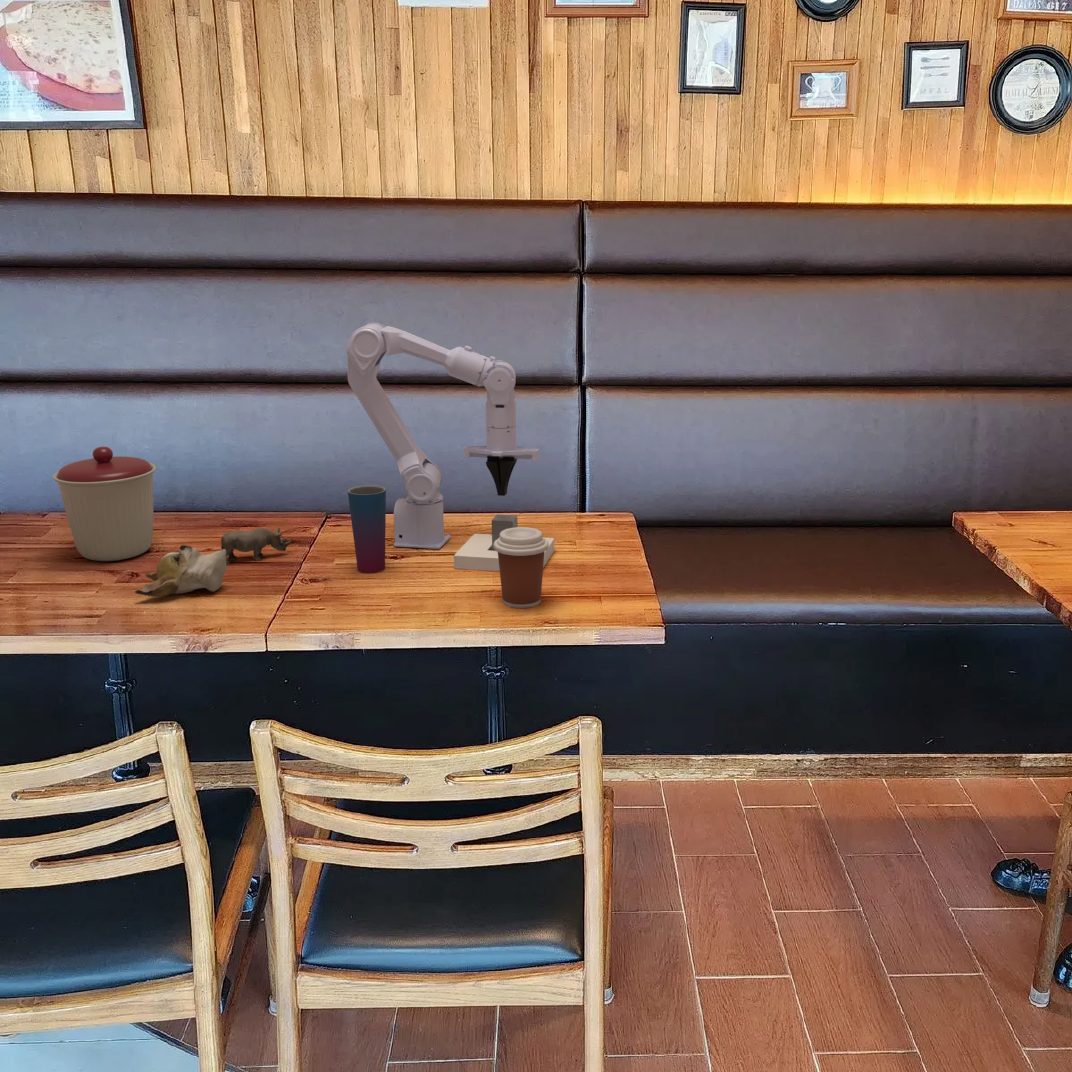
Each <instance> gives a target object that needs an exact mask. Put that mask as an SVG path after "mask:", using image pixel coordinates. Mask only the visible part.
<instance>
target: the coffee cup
mask: <svg viewBox="0 0 1072 1072" xmlns="http://www.w3.org/2000/svg"><path fill="white" fill-rule="evenodd" d="M544 538H545V537H544V536H543V532H542V531H541V530H540V529H537V528H534V527H527V526H518V527H515V528H509V529H505V530H503V531H501V533H500V537H499V538H498V539H497V540H495V542H494V544H493V548H494V549H495V551H497V552H498V560H499V570H500V571H499V578H500V585H501V586H500V588H501V597H502V603H503V604H504V605H505V607H508V608H513V609H529V608H534V607H537V606H539V604H540V605H541V602H542V587H543V576H544V575H543V573H544V568H543V564H544V551H546V550H548V547H549V542H548V541H547V540H546V539H544Z"/></svg>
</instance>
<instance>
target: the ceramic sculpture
mask: <svg viewBox="0 0 1072 1072" xmlns="http://www.w3.org/2000/svg"><path fill="white" fill-rule="evenodd" d="M156 566H157V567H156V572H153V573H150V572H146V573H145V574H144V576H146V577H147V578H149V579H150V580H152V581H153V582H150V583H148V584H147V585H145V586H144V587H143V588H141V589H137V590H135V591H134V593H135V594H138V595H141V596H147V597H155V598H160V597H161V598H162V597H165V596H169V595H170V594H175V595H178V594H179V595H180V594H181V595H182V594H186V593H188V594H189V593H191V592H193V591H195V590H198V589H207V590H208V591H210V592H216V591H218V590H219V589H220V588H221V587H222V585H223V580H224V576H225V573H226V571H227V564H226V550H225V549H223V550H222V549H220V550H217V551H214V552H212V553H208V554H207V553H206V554H205V553H204V554H203V553H200V552H199V551H198V549H197V548H196V547H192V546H191V545H185V544H184V545H183V544H182V545H180V546H179V550H177V551H173V552H168V553H167V554H165V555H164V556H162V557H161V559H160V560H159V561H158V563H157V565H156Z"/></svg>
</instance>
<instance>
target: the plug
mask: <svg viewBox="0 0 1072 1072" xmlns="http://www.w3.org/2000/svg"><path fill="white" fill-rule="evenodd" d="M515 527H519V526H518V515H515V514H495V516H494V517H493V518H492V519H491V535H492V551H495V549H494V548H493V544H494V542H495V540H497V539H498V538H499V537H500V533H501V531H503V530H505V529H509V528H515Z"/></svg>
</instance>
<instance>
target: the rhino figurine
mask: <svg viewBox="0 0 1072 1072" xmlns="http://www.w3.org/2000/svg"><path fill="white" fill-rule="evenodd" d="M280 532H281V528H277V529H276V531H273V530H271V529H268V528H265V527H258V528H255V529H253V530H249V531H244V530H234V531H227V532H226V533H224V534H223V535H222V537H221V538H220V543H221V546H220V548H221V550H223V549H225V550H226V565H229V564H230V561H233V560H234V561H235V560H237V559H238V556H237V555H235V554H234V551H235V550H236V551H239V552H242V553H250V552H251V551H253V557H252V559H253V560H254V561H255V562H258V561H261V560H262V558H264V553H262V550H263V549H264V548H265V547H267V546H271V548H273V549H274V550H278V551H280V552H285V551H287V547H288V546H290V545H291V543H292V542H293V540H294V538H293V537H292V538H291V539H290V540H287V538H286V537H285V538H281V536H283V532H281V533H280Z"/></svg>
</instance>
